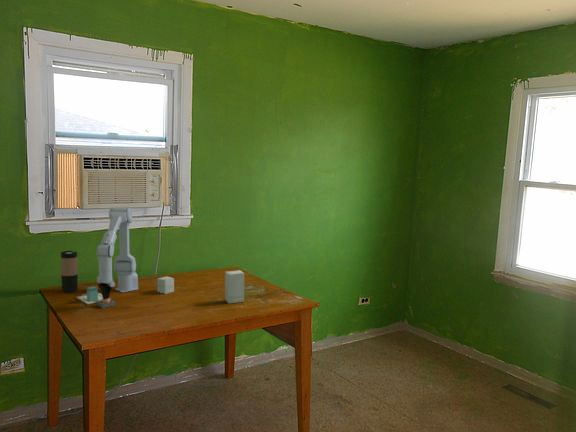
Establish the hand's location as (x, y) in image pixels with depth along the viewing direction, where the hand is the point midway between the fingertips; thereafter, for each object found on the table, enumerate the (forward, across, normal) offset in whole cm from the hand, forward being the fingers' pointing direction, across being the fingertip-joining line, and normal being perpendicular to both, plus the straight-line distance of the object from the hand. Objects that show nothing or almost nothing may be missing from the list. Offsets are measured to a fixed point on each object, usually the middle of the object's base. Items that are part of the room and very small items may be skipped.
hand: (105, 298), depth 226 cm
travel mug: (+3, -34, -3) cm, 35 cm away
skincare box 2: (+4, +32, +50) cm, 60 cm away
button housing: (+3, 0, 0) cm, 3 cm away
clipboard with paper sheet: (+3, -14, 0) cm, 14 cm away
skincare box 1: (+4, -2, +33) cm, 33 cm away
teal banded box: (+3, -11, -2) cm, 11 cm away
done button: (+3, 0, 0) cm, 3 cm away
